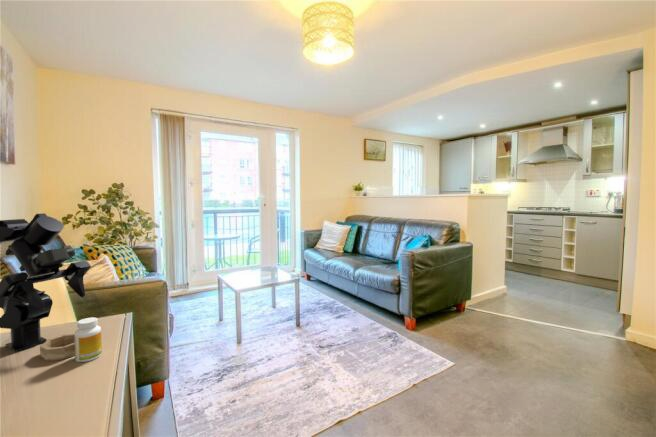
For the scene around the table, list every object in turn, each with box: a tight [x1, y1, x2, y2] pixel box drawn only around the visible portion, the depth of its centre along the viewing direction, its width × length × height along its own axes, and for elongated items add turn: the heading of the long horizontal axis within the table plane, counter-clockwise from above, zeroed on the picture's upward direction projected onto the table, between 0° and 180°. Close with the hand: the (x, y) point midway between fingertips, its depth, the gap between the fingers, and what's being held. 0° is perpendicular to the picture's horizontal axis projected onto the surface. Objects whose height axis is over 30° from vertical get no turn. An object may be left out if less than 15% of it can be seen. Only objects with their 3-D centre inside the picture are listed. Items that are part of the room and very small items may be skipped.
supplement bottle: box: [73, 316, 103, 363], centre depth 76 cm, size 5×5×10 cm
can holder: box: [39, 333, 75, 362], centre depth 78 cm, size 8×8×3 cm
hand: (65, 301), depth 77 cm, fingers open, 9 cm apart
